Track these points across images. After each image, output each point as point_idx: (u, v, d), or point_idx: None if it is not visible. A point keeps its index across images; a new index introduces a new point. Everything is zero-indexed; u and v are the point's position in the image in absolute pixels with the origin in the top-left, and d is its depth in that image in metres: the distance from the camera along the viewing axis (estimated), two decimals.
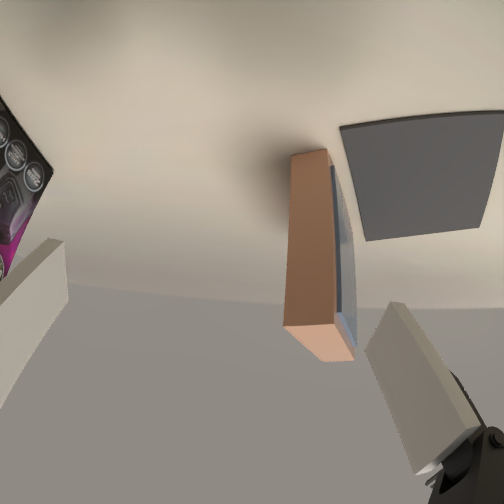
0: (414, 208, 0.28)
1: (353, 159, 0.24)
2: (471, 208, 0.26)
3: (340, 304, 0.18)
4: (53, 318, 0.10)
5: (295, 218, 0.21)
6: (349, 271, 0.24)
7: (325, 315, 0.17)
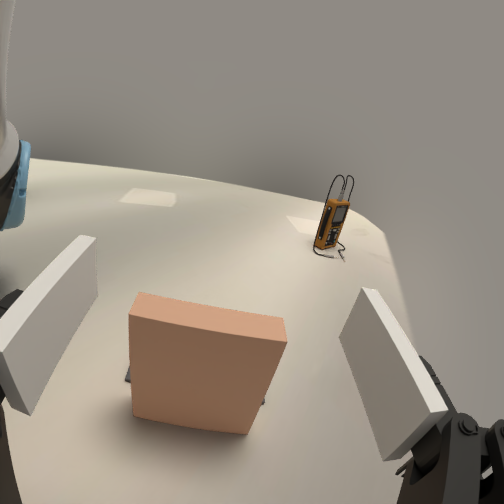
0: None
1: None
2: None
3: None
4: (84, 313, 0.11)
5: None
6: None
7: None
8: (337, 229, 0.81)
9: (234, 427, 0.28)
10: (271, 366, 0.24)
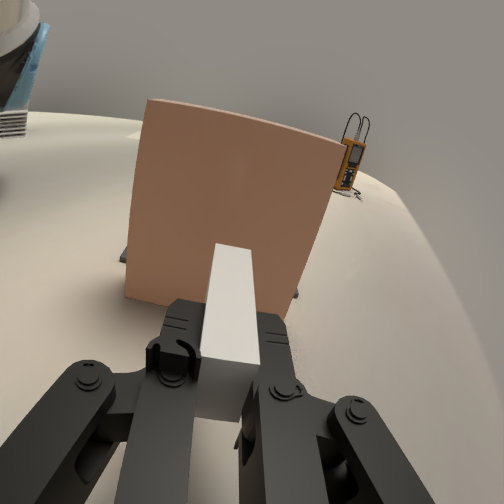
0: None
1: None
2: None
3: None
4: None
5: None
6: None
7: None
8: (353, 171, 0.75)
9: None
10: (325, 188, 0.19)
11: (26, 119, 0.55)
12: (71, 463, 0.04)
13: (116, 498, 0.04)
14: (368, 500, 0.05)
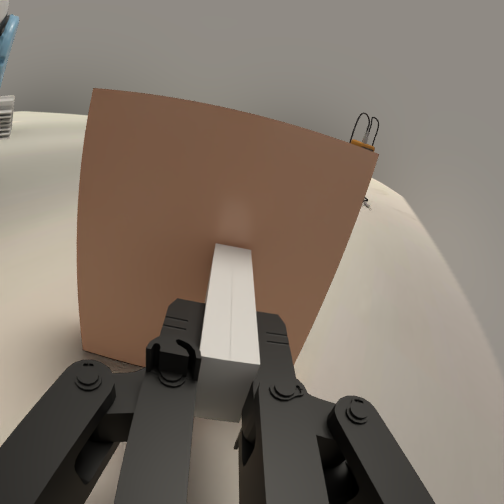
0: None
1: None
2: None
3: None
4: None
5: None
6: None
7: None
8: None
9: None
10: (347, 213, 0.13)
11: (10, 120, 0.49)
12: (71, 462, 0.04)
13: (116, 498, 0.04)
14: (368, 500, 0.05)
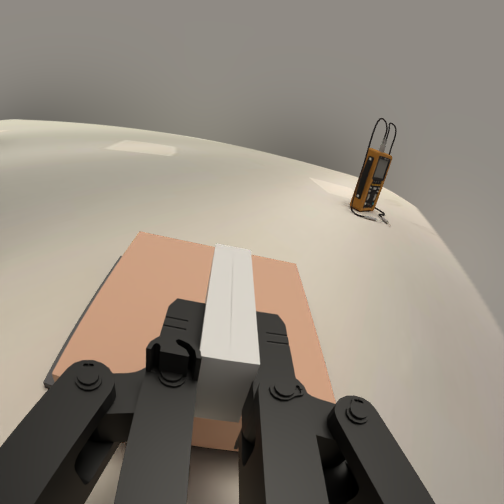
0: None
1: None
2: None
3: None
4: None
5: None
6: None
7: None
8: (377, 188, 0.62)
9: None
10: (295, 282, 0.21)
11: None
12: (71, 462, 0.04)
13: (116, 498, 0.04)
14: (368, 500, 0.05)
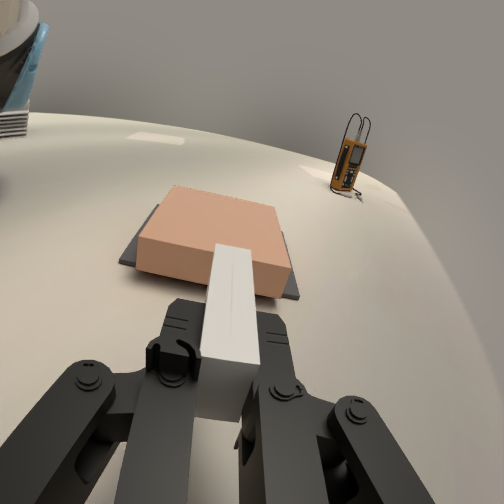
0: None
1: None
2: None
3: None
4: None
5: None
6: None
7: None
8: (354, 172, 0.75)
9: (270, 256, 0.25)
10: (272, 214, 0.34)
11: (27, 120, 0.56)
12: (71, 462, 0.04)
13: (116, 498, 0.04)
14: (368, 500, 0.05)
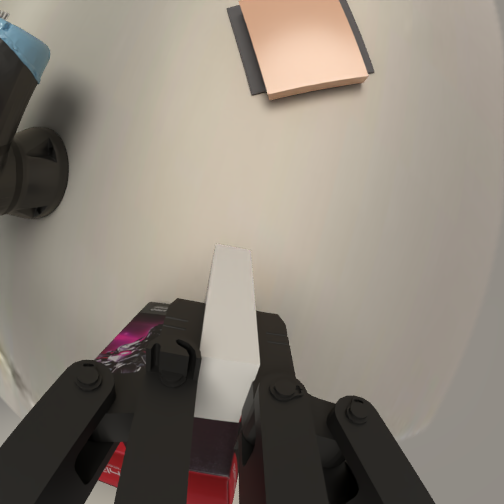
0: None
1: None
2: None
3: None
4: None
5: (254, 48, 0.31)
6: None
7: None
8: None
9: (352, 68, 0.30)
10: (335, 0, 0.28)
11: None
12: (71, 462, 0.04)
13: (116, 498, 0.04)
14: (368, 500, 0.05)
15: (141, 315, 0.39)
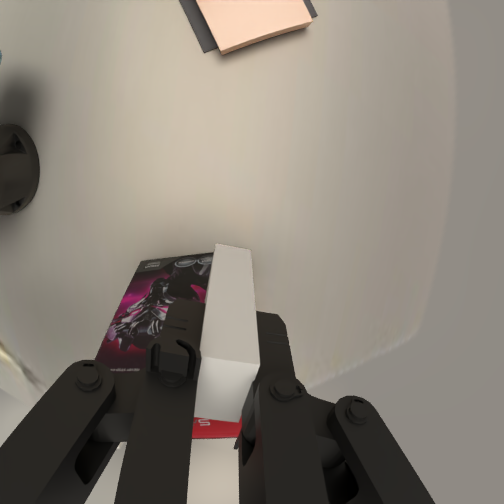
0: None
1: None
2: None
3: None
4: None
5: (201, 10, 0.29)
6: None
7: None
8: None
9: (297, 16, 0.29)
10: None
11: None
12: (71, 462, 0.04)
13: (116, 498, 0.04)
14: (368, 500, 0.05)
15: (138, 274, 0.42)
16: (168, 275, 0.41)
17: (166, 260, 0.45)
